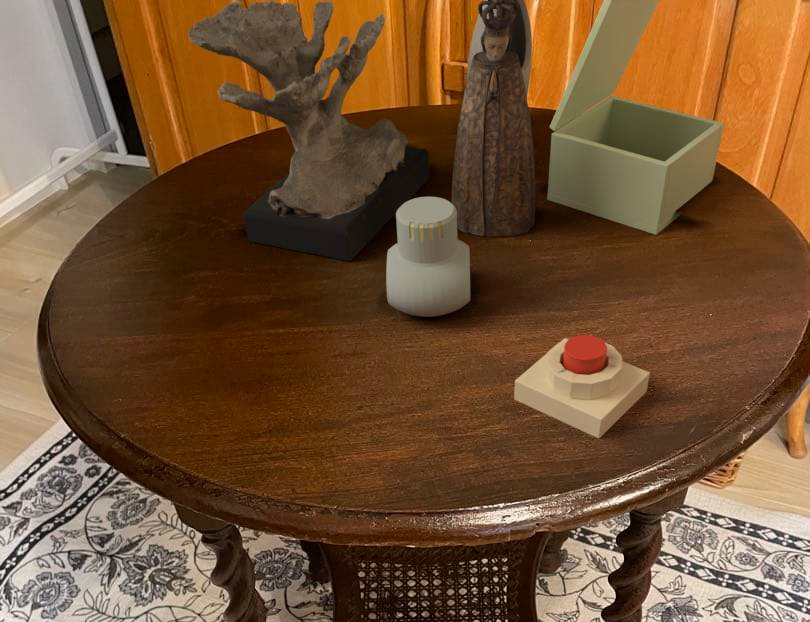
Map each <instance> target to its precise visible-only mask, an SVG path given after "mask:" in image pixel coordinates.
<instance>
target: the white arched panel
mask: <svg viewBox="0 0 810 622" xmlns="http://www.w3.org/2000/svg"><path fill="white" fill-rule="evenodd" d="M485 1H488V0H485ZM514 1H516V2H517V4H518V7H517V8H518V9H517V12H516V14H515V18H514V20H513V22H512V23H511V25H510V26H509V33H510V34H511V37H512V42H511V45H510V48H509V51H512V52H515V53H517V55H518V58H519V62H520V66H521V70H522V74H523V79H524V84H525V91H526V95H527V96H528V95H529V88H530V81H531V79H530V78H531V71H532V58H533V57H532V56H533V37H532V35H533V34H532V28H531V21H530V20H531V19H530V15H529V12H528V9H527V5H526V1H525V0H514ZM508 5H510V6H511V7H513V9H514V5H511V4H508ZM487 6H488V5H483V6H482V10H484V9H485V8H486V7H487ZM493 12H494V16H495V17H497V12H496V9H493ZM488 15H489V13H488V14H487V19H489V16H488ZM510 15H511V14H510V12H509V11H508V10H507V11H506V16H505V19H508V18H509V17H510ZM484 30H485V24H484V22H483V20H482V17H481V16H480V14H479V13H478V16H477V19H476V22H475V25H474V29H473V33H472V37H471V40H470V41H471V42H470V46H469V52H468V60H467V69H466V81H465V82H466V83H465V85H466V84H467V80H468V76H469V71H470V68H471V64H472V59H473V57H474V55H475V54H477V53H480V52H483V49H482V44H481V36H482V34H483V32H484Z"/></svg>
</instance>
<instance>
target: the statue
mask: <svg viewBox="0 0 810 622" xmlns="http://www.w3.org/2000/svg"><path fill="white" fill-rule="evenodd" d="M508 4H511V5H514V9H513V7H511V6H510V5H508ZM483 5H488V6H487V7H486V8H485V9H484V10H482V6H483ZM517 7H518V4H517V2H516V1H514V0H488V1H486V0H481V2H479V3H478V5H477V11H478V12H477V13H478V15H479V14H480V16H481V17H482V20H483V22H484V24H485V30H484V32H483V34H482V36H481V44H482V49H483V52H480V53H477V54H475V55H474V57H473V59H472V64H471V68H470V71H469V76H468V80H467V84H466V83H465V88H464V93H463V99H462V102H461V108H460V113H459V119H458V125H457V132H456V141H455V150H454V162H453V168H452V180H451V182H452V183H451V203H452V204H453V205H454V206H455V208H456V210H457V230H459V231H461V232H462V233H466V234H468V233H469V234H471V235H474V236H475V235H476V236H480V237H484V236H486V237H491V238H492V237H493V238H496V237H515V236H519V235H522V234H526V233H528V232H529V231H530V230H531V229H532V228H533V227H534V226H535V221H536V220H535V217H536V215H535V214H536V172H535V171H536V170H535V169H536V168H535V151H534V140H533V131H532V122H531V121H532V120H531V116H530V115H531V114H530V106H529V104H528V95H526V91H525V84H524V79H523V74H522V70H521V66H520V62H519V58H518V55H517V53H515V52H512V51H509V48H510V45H511V42H512V37H511V34H510V33H509V26H510V25H511V23H512V22H513V20H514V18H515V14H516V12H517V9H518V8H517ZM493 9H496V12H497V17H495V16H494V12H493ZM507 10H508V11H509V12H510V14H511V15H510V17H509V18H508V19H505V16H506V11H507ZM488 13H489V15H488V16H489V19H487V14H488Z"/></svg>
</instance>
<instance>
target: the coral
mask: <svg viewBox="0 0 810 622" xmlns="http://www.w3.org/2000/svg"><path fill="white" fill-rule="evenodd" d="M314 6H315V7H314V8H313V12H312V16H313V17H312V19H313V25H312V29H313V30H312V34H311V35H310V37H311V39H309V41H308V38H307V36H305V33H304V30H303V27H302V26H303V25H302V20H303V18H302V16H301V14H300V12H298V10H297V7H298V6H297V5H296V4H294V3H290V2H283V3H281V2H276V1H273V0H272V1H271V0H269V1H264V2H263V1H258V2H257V1H255V2H252V3H250V4H249V5H248V7H247V8H246V7H244V8H243V2H242V1H241V0H238V1H233V2H232V1H231V2H230V3H228V4H226V6H224V7H223V8H222V9H221V10H220V11H219V12H216V13H215V14H214V15H211V16H207V17H203V19H202V20H201V19H200V20H198V21H197V22H194V23H193V26H191V27H189V31H188V40H189V41H190V43H192V44H194V45H197V46H198V47H200V48H202V49H204V51H205V50H206V51H208V52H212V53H215V54H217V55H220V56H225V57H232V58H235V59H238V60H239V61H241V62H243V63H245V64H246V65H247V66H249V67H250V68H252V69H253V70H255V72H257V73H258V74H260V75H262V76H263V77H264V78H265V79H266V80H267V82H268V83H269V84H270V86H271V88H272V89H273V91H274V94H273V97H271V98H270V99H269V98H266V97H265V96H263V95H262V94H260V93H258V92H256V91H255V90H253V91H251V90H246V89H243V87H241V86H240V84H237V83H231V82H228V81H226V82H223V83H222V85H221V86H220V87H219V89H218V90H216V92H217V95H218V98H219V99H220V100H222V101H224V102H226V103H230V104H233V105H235V106H237V107H239V108H242V109H244V110H247V111H251V112H255V113H257V114H259V115H262V116H266V117H267V118H269V117H270V118H272V119H274V120H276V121H278V122H280V123H282V124H283V125H284V126H285V129H286V131H287V133H288V134H289V136H290V139H291V141H292V146H293V148H294V154H293V155H292V156H291V159H290V165H289V173H288V174H286V175H285V176H284V177H283V178H282V179H280V180H279V181H278V182H277V183H276V184H274V186H272V187H271V188H270V189H269V190H268V191H267V192H266V193H264V194H263V195H262V196H261V197H259V199H258V200H256V201H255V202H254V203H253V204H252V205H250V206H249V207H248V208H247V209H246V210H245V211H244V212H243V214H242V219H243V222H244V226H245V230H246V234H247V239H248V241H249V242H251V243H257V244H261V245H266V246H270V247H276V248H280V249H285V250H292V251H295V252H296V251H297V252H300V253H301V252H302V253H306V254H309V255H317V256H321V257H326V258H331V259H335V260H340V261H344V262H351V261H352V260H353V259H354V258H355V257H356V256H357V255H358V254H359V253H360V252H361V251H362V249H364V248H365V247H366V246H367V244H368V243H370V242H371V240H372V239H373V238H374V237H375V236H376V235H377V234H378V233H379V232H380V231H381V230H382V229H383V228H384V227H385V226H386V224H387V223H389V221H390V220H391V219H392V218H393V217H394V216H396V212H397V210H398V209H399V208H400V207H401V206H402V205H403V204H404V203H405V202H407V201H409V200H411V198H412V197H413V196H414V195H416V193H417V192H418V191H419V190H420V188H421V187H422V186H423V185H425V183H426V182H427V181H428V180H429V179H430V152H429V150H427V149H425V148H423V147H417V146H410V145H409V144H410V140H409V138H408V137H407V136H406V135H405V134H404V133H403V132H402V131H400V130H399V129H398V128H397V127H396V125H395V123H393V122H392V120H391V119H389V118H388V119H387V118H383V119H381V120H379V121H377V122H376V123H375V125H373V126H371V127H370V128H369V129H365V128H363V127H360V126H358V125H355V124H353V123H351V122H348V120H347V119H346V117H344V116H343V115H342V109H343V104H344V100H345V98H346V96H347V93H348V92H349V91H350V89H351V87H352V86H353V84H354V83H355V81H356V80H357V79H358V78H359V76H360V75H361V73H362V72H363V71H364V69H365V67H366V64H367V61H368V54H369V52H370V51H371V50H372V49H373V48H374V46H375V45H376V42H377V40H378V37H380V35H381V33H382V30H383V29H384V26H385V22H386V18H385V15H384V14H382V13H381V14H380V15H379V16H376V17H375V19H374V21H373V20H366V21H364V22H363V23H362V24H361V25H360V26H359V29H358V31H357V35H356V36H355V39H354V42H353V44H352V45H351V37H350V36H346V35H343V36H341V37H340V40H339V43H338V45H337V48H335V50H334V54H333V55H332V56H328V57H325V59H324V58H322V56H323V53H324V51H325V47H326V41H325V35H326V32H327V29H328V28H329V25H330V22H331V19H332V16H333V13H334V2H333V1H329V0H327V1H326V0H323V1H322V2H321V1H320V0H318V1H317V2H315V4H314ZM350 45H351V47H350ZM348 50H349V53H347V52H348ZM320 60H321V61H320ZM319 62H320V63H319ZM318 63H319V68H318V69H317V71H316V65H317V64H318ZM336 69H337V71H338V77H337V78H336V80H335V82H334V83H333V84H332V87H331V88H330V92H329V95H328V96H327V97H326V98H324V97H325V95H326V93H327V90H328V88H329V85H330V80H331V77H332V74H333V73H334V71H335V70H336ZM323 98H324V99H323Z"/></svg>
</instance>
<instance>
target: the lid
mask: <svg viewBox="0 0 810 622" xmlns="http://www.w3.org/2000/svg"><path fill="white" fill-rule="evenodd" d="M659 2H660V0H603V2H602V4H601V6H600V9H599V10H598V13H597V16H596V18H595V21H594V22H593V25H592V27H591V29H590V32H589V34H588V36H587V39H586V42H585V43H584V45H583V46H584V47H583V48H582V51H581V53H580V55H579V57H578V59H577V62H576V65H575V67H574V68H573V71H572V74H571V76H570V78H569V80H568V83H567V85H566V88H565V89H564V92H563V95H562V97H561V98H560V101H559V104H558V106H557V109H556V111H555V112H554V115H553V118H552V120H551V123H550V124H549V129H551V130H552V131H553V132H556V131H557V130H558V129H560V128H561V127H563V126H564V125H566V124H568V123H569V122H571V121H572V120H574V119H575V118H577V117H579V116H580V115H582V114H583V113H585V112H586V111H588V110H589V109H591V108H593V107H594V106H596V105H597V104H599V103H600V102H602V101H603V100H605V99H607V98H608V97H610V96H613V94H615V92H616V91H617V88H618V86H619V84H620V82H621V80H622V78H623V76H624V74H625V71H626V70H627V67H628V66H629V63H630V61H631V59H632V58H633V55H634V54H635V52H636V50H637V47H638V46H639V43H640V42H641V39H642V37H643V35H644V33H645V31H646V28H647V27H648V24H649V23H650V21H651V19H652V16H653V14H654V13H655V10H656V9H657V6H658V5H659Z"/></svg>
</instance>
